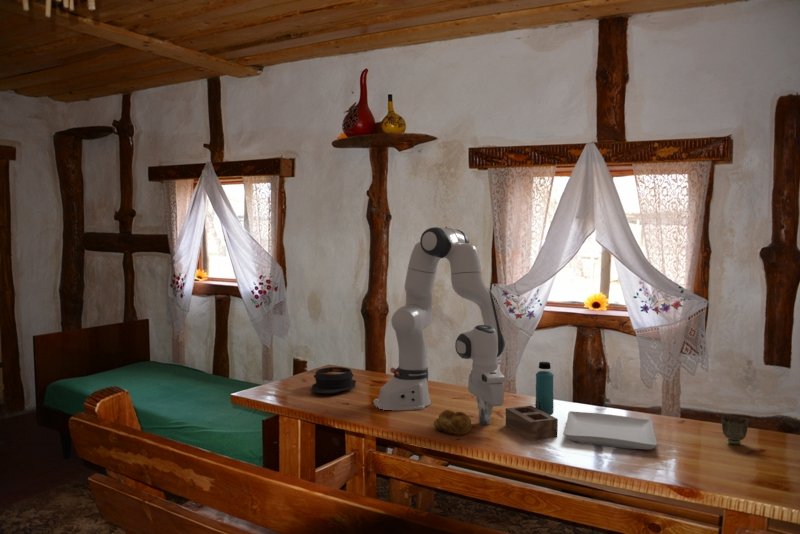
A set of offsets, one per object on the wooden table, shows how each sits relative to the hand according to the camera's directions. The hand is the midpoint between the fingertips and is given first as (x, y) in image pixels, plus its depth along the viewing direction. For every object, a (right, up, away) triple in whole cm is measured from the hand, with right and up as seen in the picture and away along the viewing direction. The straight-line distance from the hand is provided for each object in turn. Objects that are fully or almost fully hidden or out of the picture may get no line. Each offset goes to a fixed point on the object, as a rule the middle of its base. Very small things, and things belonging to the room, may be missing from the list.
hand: (484, 412), depth 199 cm
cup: (+75, -5, -20) cm, 78 cm away
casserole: (-58, -2, +46) cm, 74 cm away
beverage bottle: (+23, -4, +8) cm, 24 cm away
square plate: (+39, -5, -12) cm, 41 cm away
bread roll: (-12, -5, -8) cm, 15 cm away
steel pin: (0, -4, 0) cm, 4 cm away
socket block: (+14, -4, -8) cm, 17 cm away
